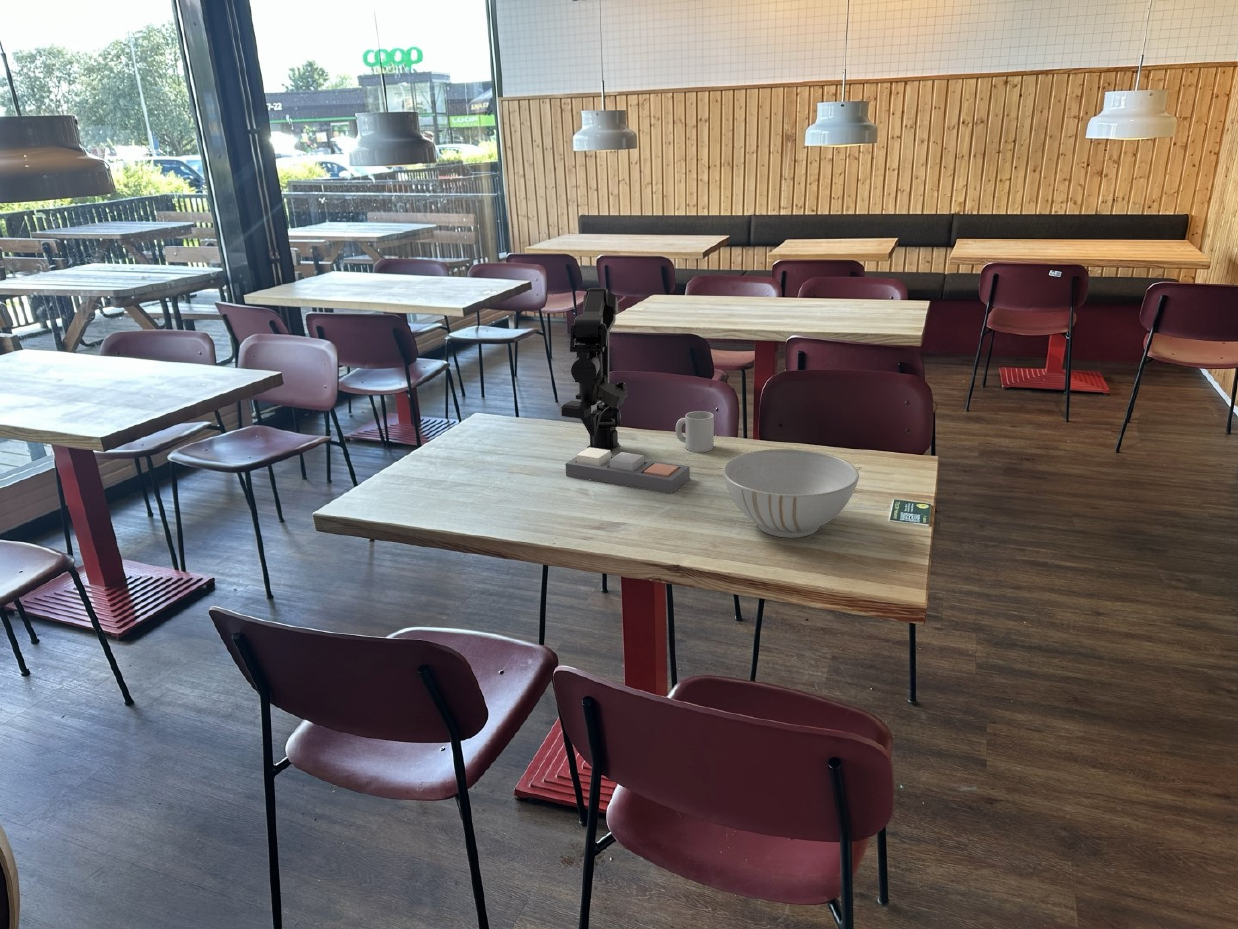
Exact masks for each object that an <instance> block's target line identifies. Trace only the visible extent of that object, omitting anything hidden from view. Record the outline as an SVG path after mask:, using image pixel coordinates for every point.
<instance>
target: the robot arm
mask: <svg viewBox="0 0 1238 929" xmlns="http://www.w3.org/2000/svg"><path fill="white" fill-rule="evenodd" d="M582 298H583V300H582V301H583V305H582V311H583V312H582V313H581V314H579V315H576V316H575V319H574V321H573V323H571V324H570V325H571V327H570V343H569V345H570V346H569V352H570V353H576V358H575V361H574V362H573V363H572V365H571V368H570V373H571V376H572V379H573V380H574V383H577V384H578V393H577V394H575V400H570V401H568V402H565V403H564V404H563V405H562V406H561V407H560V415H561V417H564V418H565V417H566V418H573V419H579V420H580V421H581V422H582V423H583V425H584V428H585V430H586V431H587V432H588V434H589V445H588V446H586V449H587V448H589V447H591V448H597V449H604V450H611V451H612V450H614V449H615V448H617V447H618V446H620V442H619V441H618V438H619V437H618V434H619V433H618V432H619V431H618V430H617V428H618V426H621V425H622V416H621V409H619V406H622V405H624V402H625V398H627V397H628V396H629V393H628V391H629V390H628V385H627V382H625V381H622V380H620V381H619V382H617V383H616V384H615V383H610V333H611V332H610V331H611V330H612V328H613V326H614V325H615V324H616V321H617V320H616V319H617V318H616V317H617V315H618V314H619V302H618V298H617V295H616V294H614V293H611V292H610V291H609V290H608V288H605V287H589V288H587V289H586V293H585V294H584V295H583V297H582ZM577 400H578V401H577ZM613 448H614V449H613Z"/></svg>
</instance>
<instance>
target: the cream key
mask: <svg viewBox="0 0 1238 929" xmlns="http://www.w3.org/2000/svg"><path fill="white" fill-rule="evenodd" d="M611 451H612V450H604V449H597V448H591V447H589V448H587V447H586V448H585V449H584V450H582V451H580V452H579V453H577V454H576V457H577V463H582V464H588V465H594V466H602V465H603V464H605V463H606V462H608V461H609V460H610V459H611V454H612V453H611Z"/></svg>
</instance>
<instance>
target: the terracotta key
mask: <svg viewBox="0 0 1238 929" xmlns="http://www.w3.org/2000/svg"><path fill="white" fill-rule="evenodd" d="M677 470H678V466H671V465H665V464H658V463H655V464H653V465H652V466H651V467H649V468H648V469H646V470H645V471H644V473H645V474H651V475H657V476H664V477H670V476H671V475H672V474H673V473H675V472H676V471H677Z"/></svg>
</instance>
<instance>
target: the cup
mask: <svg viewBox="0 0 1238 929" xmlns="http://www.w3.org/2000/svg"><path fill="white" fill-rule="evenodd" d="M714 416H715V415H714V413H712V412H710V411H700V410H697V411H690V412H687V413H686V414H685V417H681V418H679V419H678V420H677V422H676V424H675V435H676V437H677V440H679V441H680V442H681V443H684V444H685V449H686V450H687V449H688V450H689V452H691V451H693V452H692V453H698V452H701V453H707V452H710V451H712V450H713V448H714V440H715V439H714V438H715V437H714V433H715V432H714V431H715V430H714V427H715V425H714V422H715V421H714V418H715V417H714ZM683 425H685V427H684V429H685V434H684V435H683V432H682V429H683V428H682V427H683ZM688 450H687V451H688Z"/></svg>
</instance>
